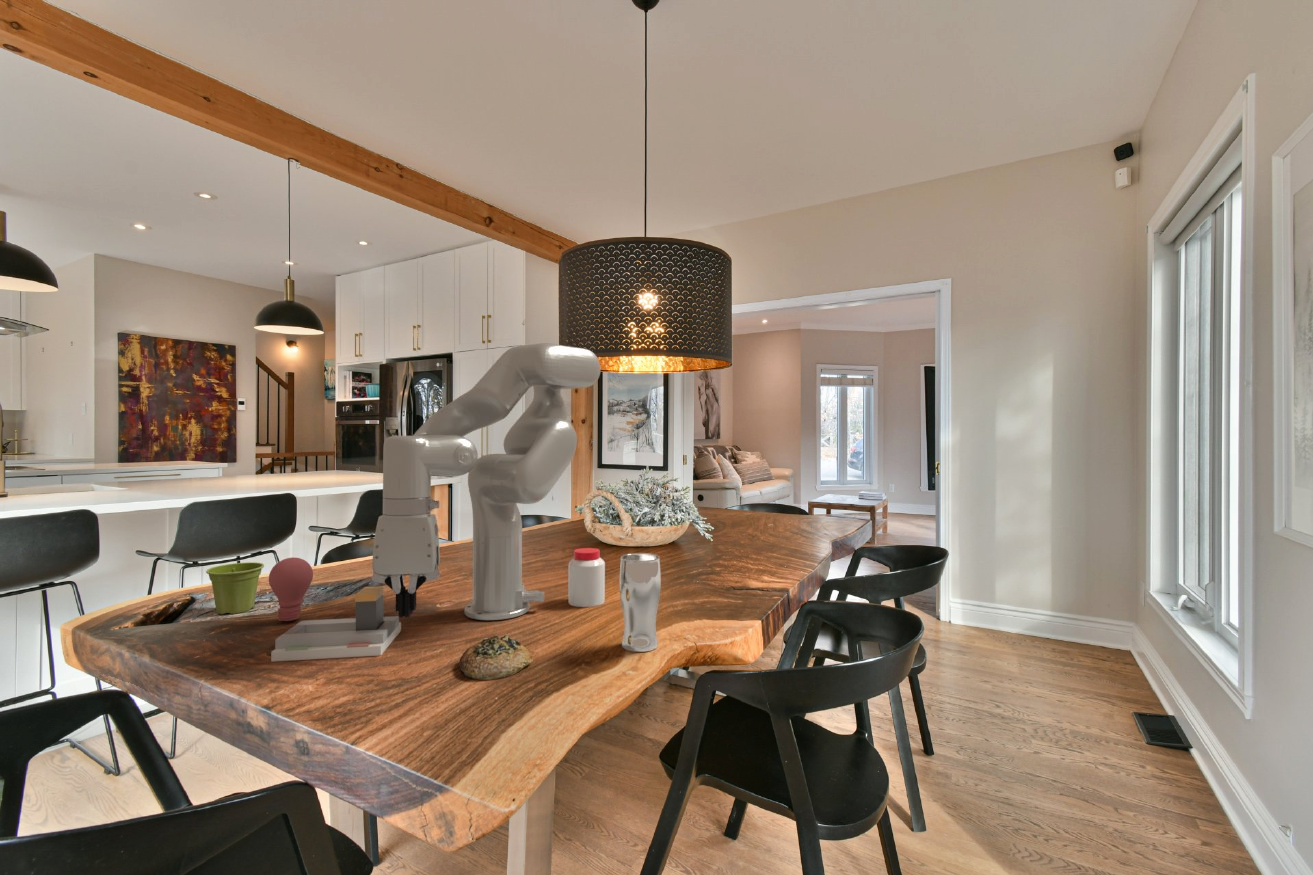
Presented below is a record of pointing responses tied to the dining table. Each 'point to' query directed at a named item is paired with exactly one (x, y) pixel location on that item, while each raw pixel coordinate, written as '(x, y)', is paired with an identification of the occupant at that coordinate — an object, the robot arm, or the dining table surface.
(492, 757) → the dining table surface
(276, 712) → the dining table surface
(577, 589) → the pill bottle
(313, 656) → the switch panel
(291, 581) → the light bulb
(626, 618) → the beer glass
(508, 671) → the bread roll
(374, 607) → the breaker handle
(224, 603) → the plant pot
